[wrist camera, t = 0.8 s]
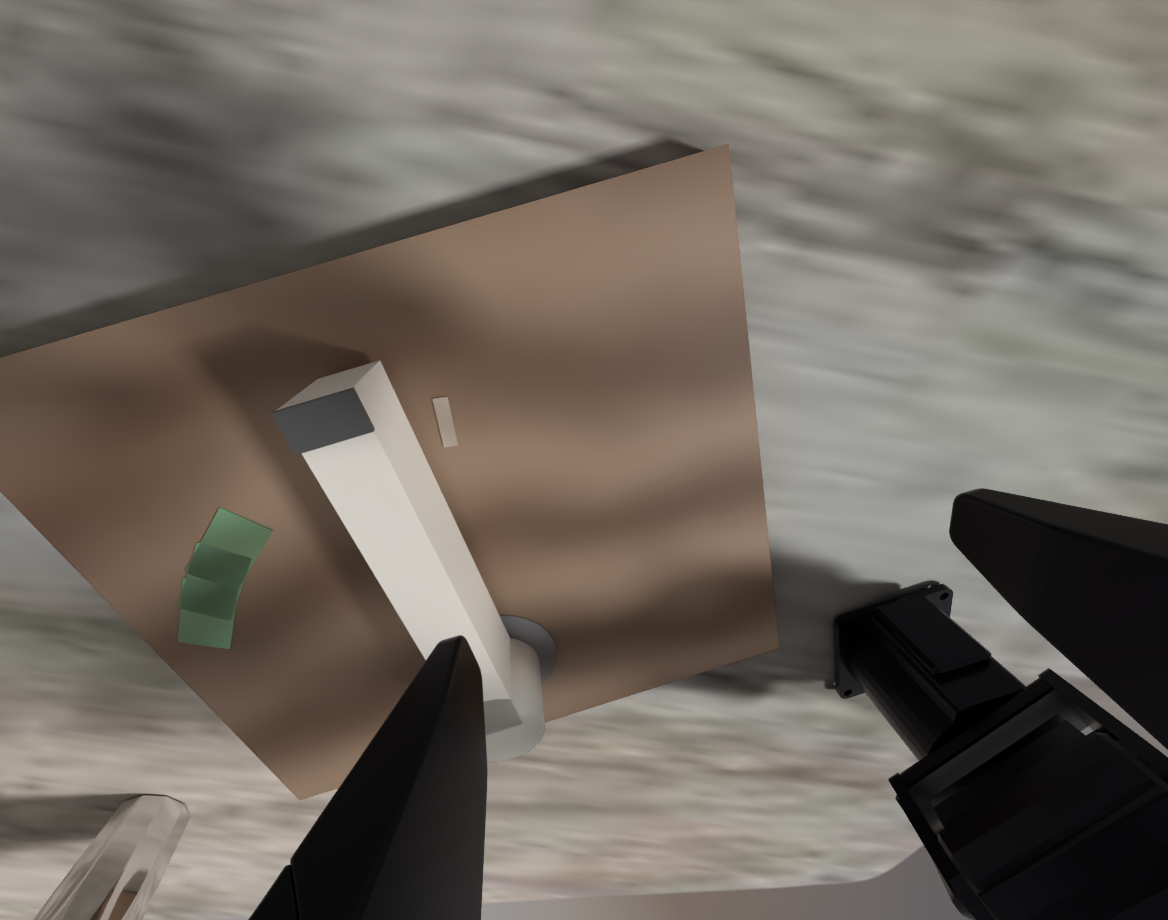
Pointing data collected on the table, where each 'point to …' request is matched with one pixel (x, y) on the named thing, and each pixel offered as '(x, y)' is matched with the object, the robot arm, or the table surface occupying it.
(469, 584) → the peg lever
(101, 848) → the milkshake
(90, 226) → the table surface
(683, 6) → the table surface
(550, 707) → the plate
